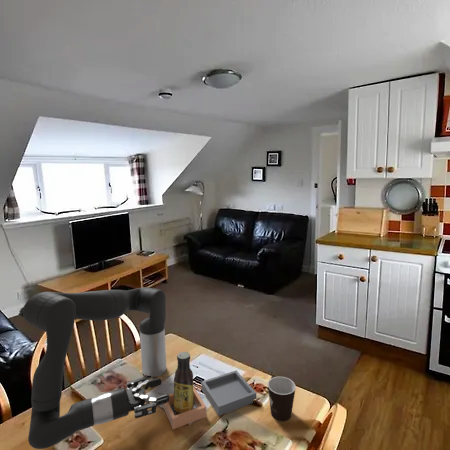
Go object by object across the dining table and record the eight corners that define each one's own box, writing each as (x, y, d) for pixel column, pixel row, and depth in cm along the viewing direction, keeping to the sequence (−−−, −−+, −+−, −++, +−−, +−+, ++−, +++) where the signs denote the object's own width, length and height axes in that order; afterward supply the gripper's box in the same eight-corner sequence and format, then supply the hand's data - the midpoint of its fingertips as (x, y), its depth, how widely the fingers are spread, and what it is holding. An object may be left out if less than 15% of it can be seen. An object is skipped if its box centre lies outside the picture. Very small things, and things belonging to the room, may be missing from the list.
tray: (201, 389, 114) (201, 381, 114) (236, 378, 120) (236, 370, 120) (218, 416, 102) (218, 407, 101) (256, 401, 108) (256, 393, 108)
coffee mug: (295, 425, 98) (295, 396, 96) (266, 421, 99) (266, 392, 98) (294, 399, 109) (295, 372, 107) (268, 396, 111) (269, 369, 109)
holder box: (162, 406, 107) (162, 396, 106) (193, 395, 111) (193, 386, 111) (172, 429, 97) (172, 419, 96) (206, 416, 102) (206, 406, 101)
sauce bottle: (170, 415, 103) (167, 357, 99) (180, 402, 108) (178, 347, 105) (188, 421, 100) (186, 362, 97) (197, 407, 106) (196, 351, 102)
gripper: (112, 410, 86) (171, 391, 93) (105, 380, 99) (158, 365, 106) (114, 435, 87) (172, 414, 94) (107, 402, 100) (159, 386, 107)
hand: (164, 388), depth 100 cm, fingers open, 8 cm apart
